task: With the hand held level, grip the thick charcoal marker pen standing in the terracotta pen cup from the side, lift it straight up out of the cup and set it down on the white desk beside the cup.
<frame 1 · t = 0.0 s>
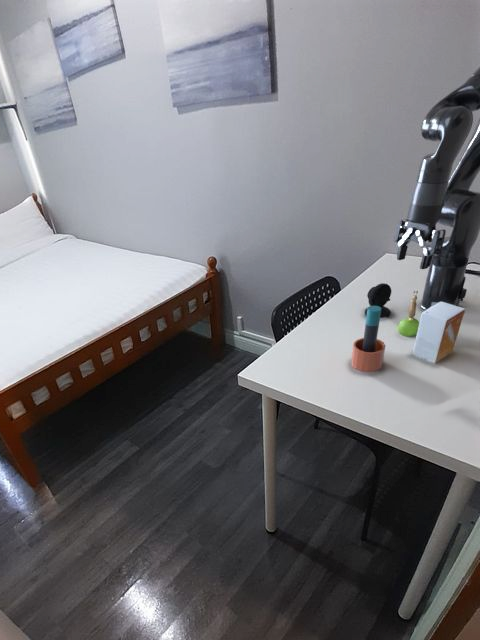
hand: (411, 263, 112), 17 cm above the table, tool pointing down, fingers open, 8 cm apart
snail figurine: (407, 335, 115), on the table
small box: (431, 355, 106), on the table
pen cup: (366, 366, 106), on the table
marker pen: (366, 363, 105), point 1 cm above the table, touching pen cup
webcam: (377, 314, 126), on the table
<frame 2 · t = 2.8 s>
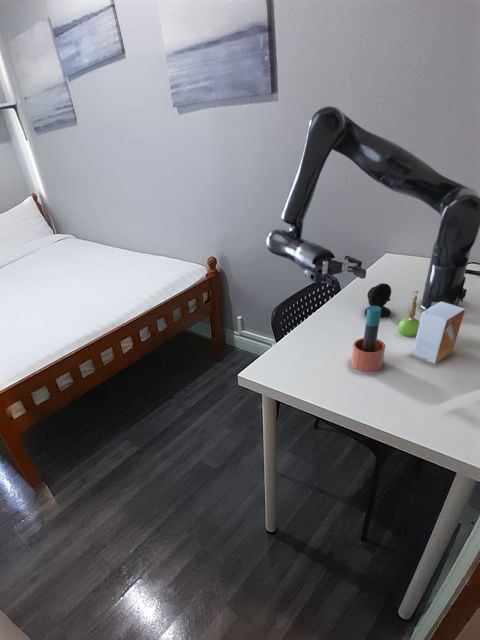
hand: (350, 279, 102), 20 cm above the table, tool horizontal, fingers open, 8 cm apart
nothing on the table moved.
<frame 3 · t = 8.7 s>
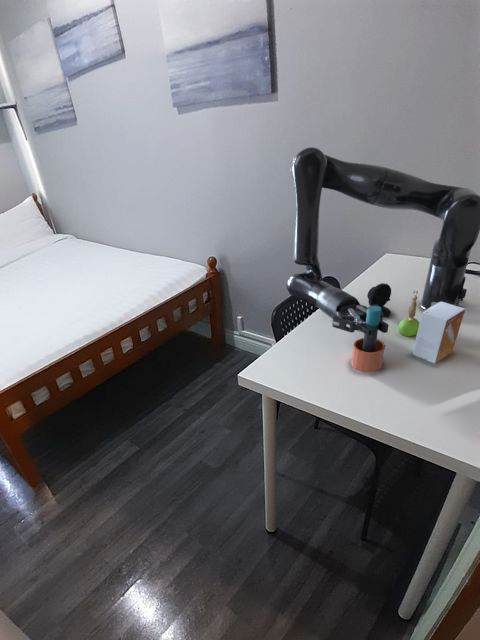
hand: (380, 331, 96), 12 cm above the table, tool horizontal, fingers closed on marker pen, 3 cm apart
marker pen: (366, 363, 105), point 1 cm above the table, touching gripper, pen cup
everything else where it was.
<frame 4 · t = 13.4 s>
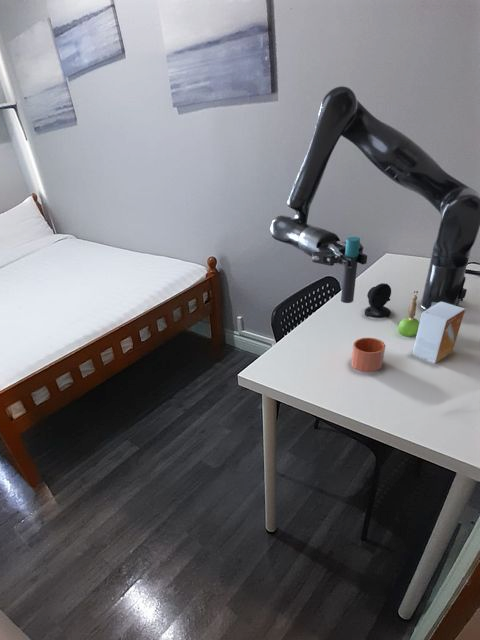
hand: (358, 262, 96), 26 cm above the table, tool horizontal, fingers closed on marker pen, 3 cm apart
marker pen: (347, 300, 105), point 15 cm above the table, touching gripper
everything else where it was.
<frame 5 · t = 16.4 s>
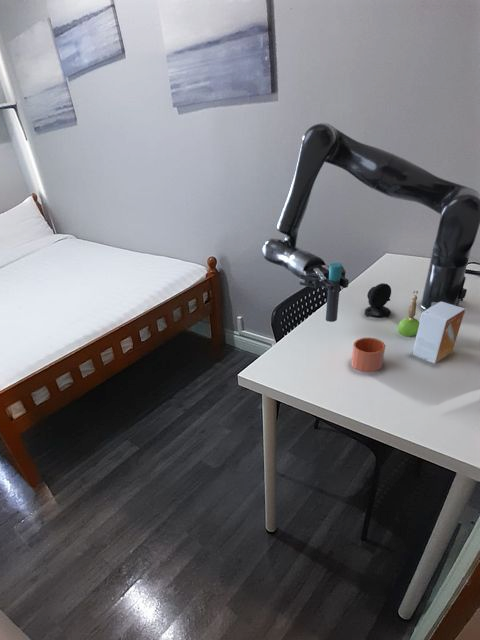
hand: (340, 286, 106), 18 cm above the table, tool horizontal, fingers closed on marker pen, 3 cm apart
marker pen: (331, 319, 115), point 7 cm above the table, touching gripper
everything else where it was.
when the fingers open (11 cm above the table, at t = 18.5 s): marker pen stays where it is, on the table.
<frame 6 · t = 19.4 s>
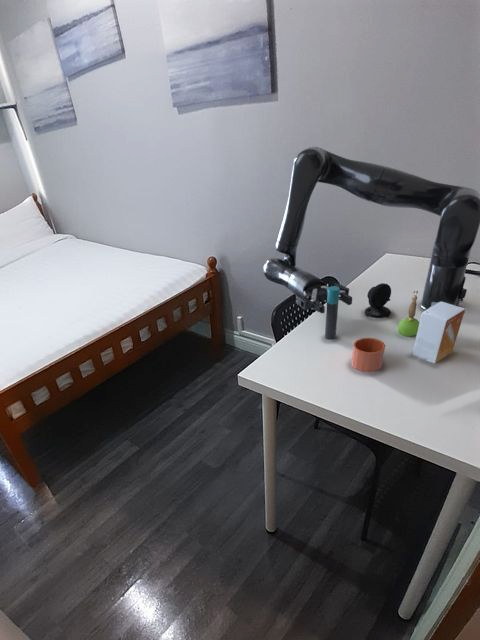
hand: (337, 305, 110), 12 cm above the table, tool horizontal, fingers open, 8 cm apart
marker pen: (330, 339, 118), on the table
everything else where it was.
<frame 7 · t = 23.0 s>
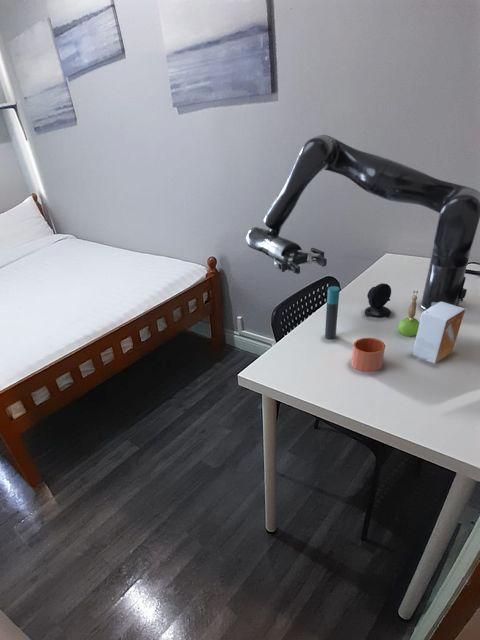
hand: (312, 266, 116), 19 cm above the table, tool horizontal, fingers open, 8 cm apart
nothing on the table moved.
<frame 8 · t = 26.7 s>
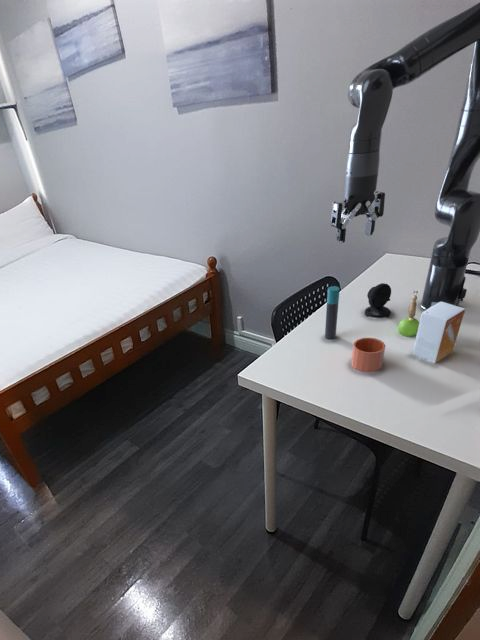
hand: (355, 238, 108), 26 cm above the table, tool pointing down, fingers open, 8 cm apart
nothing on the table moved.
at the end: marker pen inside the target area (0.9 cm from its centre), on the table; marker pen touching table; the gripper is holding nothing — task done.
